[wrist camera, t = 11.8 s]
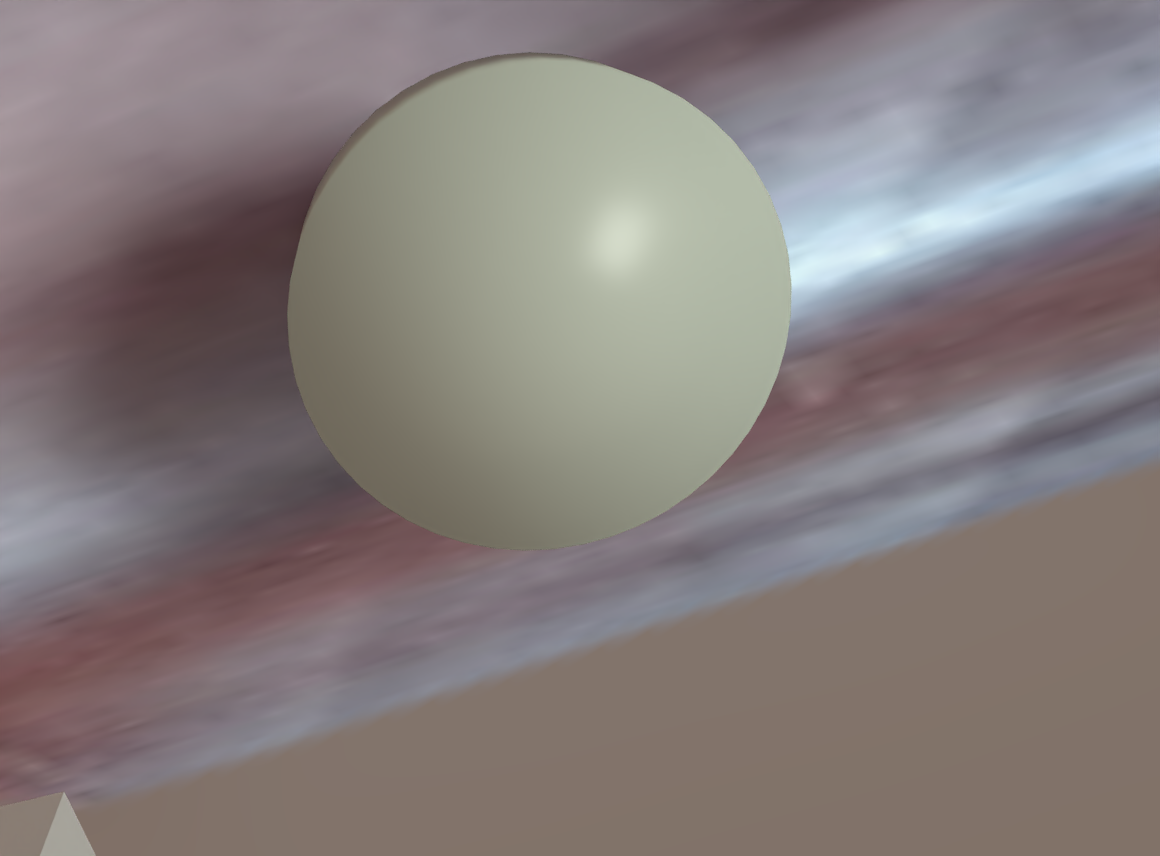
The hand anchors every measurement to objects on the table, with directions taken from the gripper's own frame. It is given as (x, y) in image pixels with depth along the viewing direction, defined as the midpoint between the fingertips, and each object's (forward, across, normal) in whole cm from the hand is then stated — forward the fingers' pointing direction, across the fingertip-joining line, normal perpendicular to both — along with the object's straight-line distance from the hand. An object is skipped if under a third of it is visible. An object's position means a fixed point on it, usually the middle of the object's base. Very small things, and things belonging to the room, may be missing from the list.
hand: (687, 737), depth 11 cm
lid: (+14, 0, -1) cm, 14 cm away
